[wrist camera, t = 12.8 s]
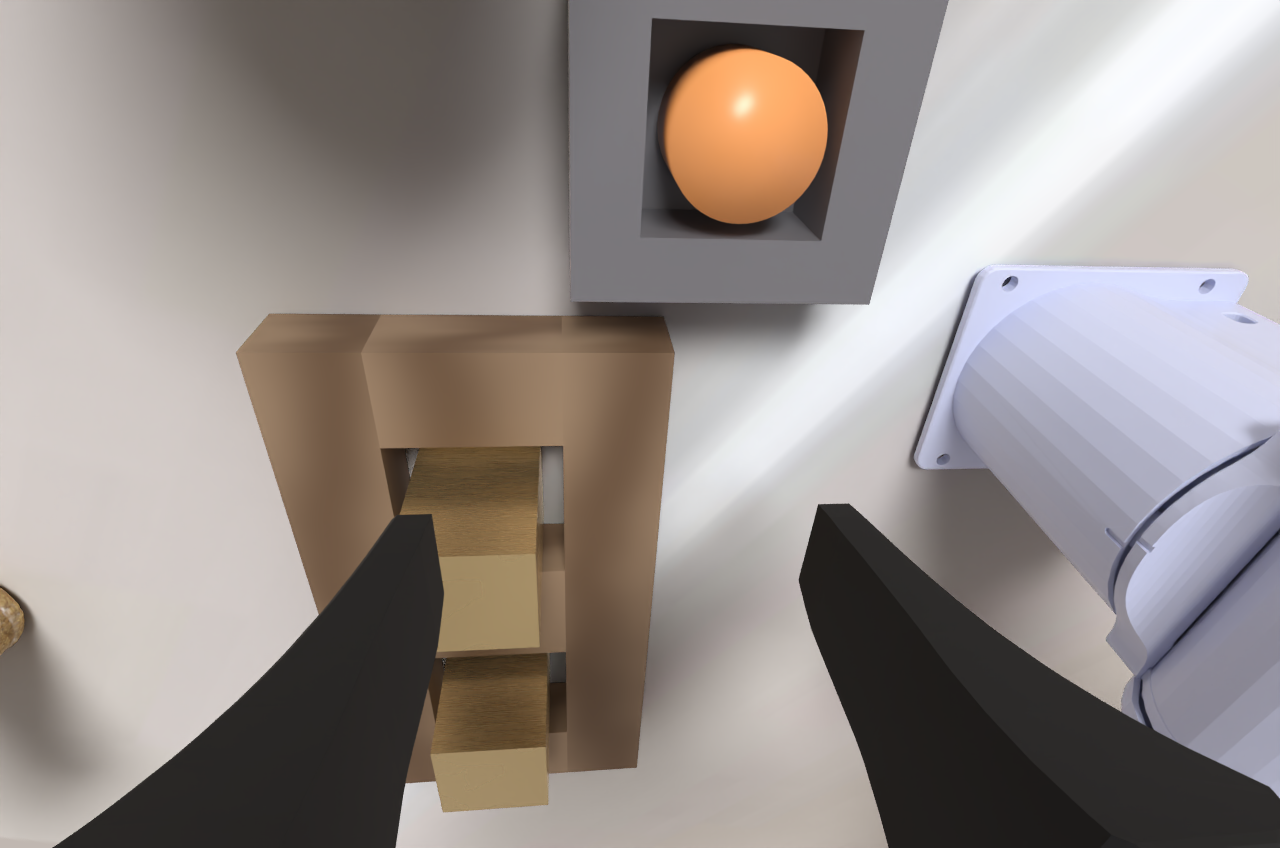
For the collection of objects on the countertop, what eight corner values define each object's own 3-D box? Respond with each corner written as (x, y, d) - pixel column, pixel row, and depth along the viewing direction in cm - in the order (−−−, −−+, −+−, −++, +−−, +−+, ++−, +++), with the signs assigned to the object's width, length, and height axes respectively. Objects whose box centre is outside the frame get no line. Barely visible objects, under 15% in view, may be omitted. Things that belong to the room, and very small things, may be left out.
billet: (548, 614, 29) (545, 746, 24) (550, 672, 31) (548, 804, 26) (453, 618, 28) (430, 754, 23) (462, 676, 31) (442, 812, 26)
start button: (810, 48, 16) (843, 57, 14) (784, 199, 18) (810, 225, 16) (662, 39, 16) (676, 48, 14) (652, 195, 18) (664, 222, 16)
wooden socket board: (663, 316, 21) (674, 353, 19) (632, 718, 34) (636, 767, 32) (269, 313, 20) (235, 352, 18) (385, 733, 32) (373, 785, 30)
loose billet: (540, 432, 23) (535, 554, 19) (543, 517, 26) (539, 647, 21) (423, 433, 23) (386, 558, 18) (437, 520, 25) (406, 653, 20)
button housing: (893, -56, 16) (964, -63, 14) (826, 259, 21) (869, 304, 18) (567, -79, 16) (568, -93, 13) (569, 254, 20) (570, 301, 17)
